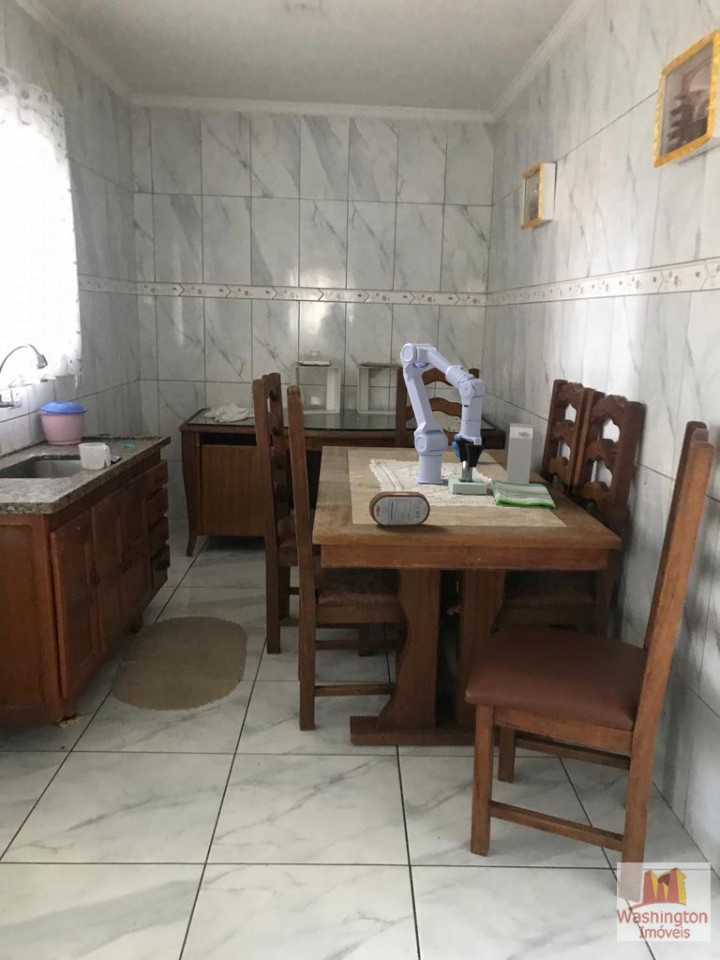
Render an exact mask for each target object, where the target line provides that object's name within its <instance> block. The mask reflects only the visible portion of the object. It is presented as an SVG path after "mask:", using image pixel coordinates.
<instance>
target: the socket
mask: <svg viewBox="0 0 720 960" xmlns="http://www.w3.org/2000/svg"><path fill="white" fill-rule="evenodd" d="M461 477H462V476H460V477H456V476H455V477H454V476H452V477H451V476H450V477H449V476H448V480H447V481H448V482H447V487H448V489H449V488H450V489H449V490H451V491H452V492H451V491H450V492H451V494H452V493H462V494H461V495H477V494H485V496H486V495H487V487H488V485H487V483H486V482H485V481H484V479H482V478H481V477H472V483H463V482H461Z"/></svg>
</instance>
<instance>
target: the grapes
mask: <svg viewBox="0 0 720 960" xmlns="http://www.w3.org/2000/svg"><path fill="white" fill-rule="evenodd" d="M457 434H458V433H455V434H454V437H453V438H454V441H452V443H451V446H452V448H453V449H454V450H455V451H454V455H455V457H456V458H459V459H460V456H459V450H458V447H457V444H456V442H455V439H460V437H457ZM481 445H483V443H481ZM482 454H483V451H482V452H481V454H480V456H481V455H482Z"/></svg>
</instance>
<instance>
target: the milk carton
mask: <svg viewBox="0 0 720 960" xmlns="http://www.w3.org/2000/svg"><path fill="white" fill-rule="evenodd" d="M533 436H534V424H532V423H531V424H527V423H513V422H511V423H510V427H509V436H508V437H509V439H508V449H507V450H508V452H507V453H508V454H507V462H506V463H507V466H506V479H505V482H516V483H529V484H530V477H531V476H530V473H531V461H532V450H533V439H534V438H533Z"/></svg>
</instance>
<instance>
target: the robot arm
mask: <svg viewBox="0 0 720 960" xmlns="http://www.w3.org/2000/svg"><path fill="white" fill-rule="evenodd" d="M399 358H400V362H401V365H402V372H403V373H402V374H403V379H404V382H405V387H406V390H407V393H408V396H409V399H410V403H411V406H412V410H413V412H414V413H413V414H414V417H415V419H416V425H417V428H416V430H414V432H413V436H414V447H415V448H414V449H415V450H416V451H417V455H419V457H418V473H417V475H415V476H414V477H415V480H416V482H417V483H418V484H430V485H431V484H435V485H437V484H439V485H441V484H442V485H443V484H444V481H443V480H442V466H443V465H442V462H443V455H444V454H445V451H446V450H447V448H448V445H449V440H448V439H449V438H448V436H447V435H446V434H445V432H444V430H443V428H442V426H441V425H439V424H438V423H437V422H436V421H435V417H434V415H433V410H432V407H431V403H430V400H429V397H428V394H427V391H426V387H425V383H424V380H423V377H422V376H423V373H424V372H426V370H427V369H428V368H429V367H430V365H431V366H433V367H434V368H436V369H437V370H438V371H440V372H442V374H444V375H445V380H446V381H447V382H448V383H449V384H450V385H452V386H453V387H454V388H455V389H457V391H458V392H459V395H460V397H461V405H462V407H461V422H460V424H461V425H460V430H459V432H458V433H456V434H457V437H460V439H455V438H454V441H455V442H456V444H457V447H458V450H459V456H460V458H459V461H460V462H459V463H462V461H468V465H469V467H470V468H473V469H474V468H475V469H476V468H477V466H478V462H479V460H480V457H481V455H482V454H481V452H482V453H483V451H484V449H485V448H486V446H485V444H483V443H482V441H483V440H482V438H483V437H482V436H481V425H482V423H481V422H482V412H483V411H482V409H483V398H484V397H486V395H487V393H488V386H487V383H486V381H484V379H483V378H476V377H475V375H473V374H472V373H469V372H468V371H467V370H466V369H465V367H464V366H463V365H459V364H454V365H453V364H452V363H451V362H450V361H448V359H446V357H444V356H443V354H441V353H440V352H439V351H438V349H437V348H436V347H435V346H433V345H432V344H431V343H410V342H407V343H406V344H404V345H403V347H402V348H401V351H400V354H399ZM481 443H482V445H481ZM480 454H481V455H480Z"/></svg>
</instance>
